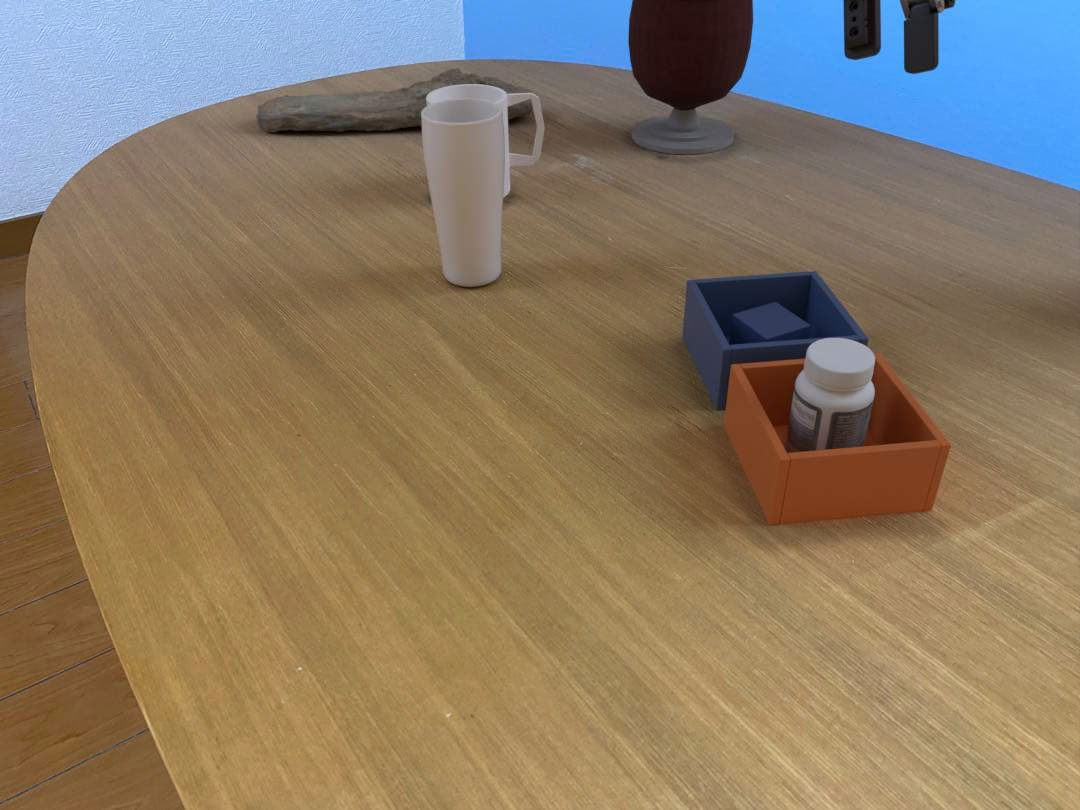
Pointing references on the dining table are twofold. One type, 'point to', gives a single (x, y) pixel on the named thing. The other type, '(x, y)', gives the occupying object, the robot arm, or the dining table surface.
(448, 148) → the drinking glass
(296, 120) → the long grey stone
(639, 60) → the mate gourd
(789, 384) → the orange bin
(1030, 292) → the dining table surface
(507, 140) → the cup
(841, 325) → the blue bin
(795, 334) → the blue block
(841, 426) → the pill bottle
